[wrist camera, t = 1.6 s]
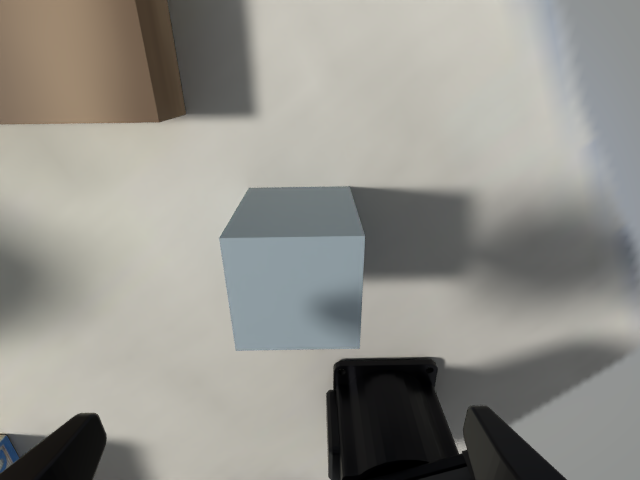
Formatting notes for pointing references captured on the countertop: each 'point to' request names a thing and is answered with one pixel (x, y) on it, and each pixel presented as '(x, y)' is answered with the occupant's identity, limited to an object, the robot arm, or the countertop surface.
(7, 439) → the stack of blocks
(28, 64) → the walnut base
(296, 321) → the grey block
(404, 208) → the countertop surface
